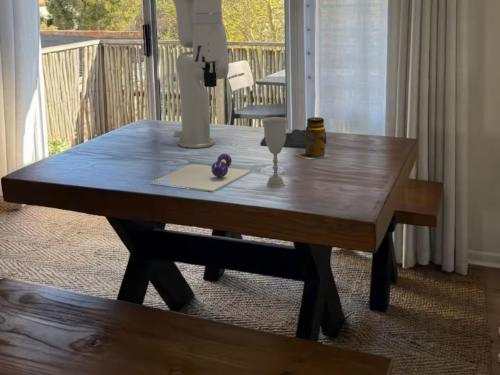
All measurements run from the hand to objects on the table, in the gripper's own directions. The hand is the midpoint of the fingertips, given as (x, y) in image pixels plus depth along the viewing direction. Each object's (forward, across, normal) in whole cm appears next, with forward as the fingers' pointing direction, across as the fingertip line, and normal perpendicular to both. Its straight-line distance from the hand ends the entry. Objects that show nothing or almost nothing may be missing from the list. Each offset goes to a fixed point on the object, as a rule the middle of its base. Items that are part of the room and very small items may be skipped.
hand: (210, 86), depth 190 cm
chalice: (+25, +5, +23) cm, 34 cm away
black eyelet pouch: (+26, -45, +6) cm, 52 cm away
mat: (+25, +7, +1) cm, 26 cm away
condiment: (+25, -30, +19) cm, 44 cm away
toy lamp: (+23, -6, +1) cm, 24 cm away
